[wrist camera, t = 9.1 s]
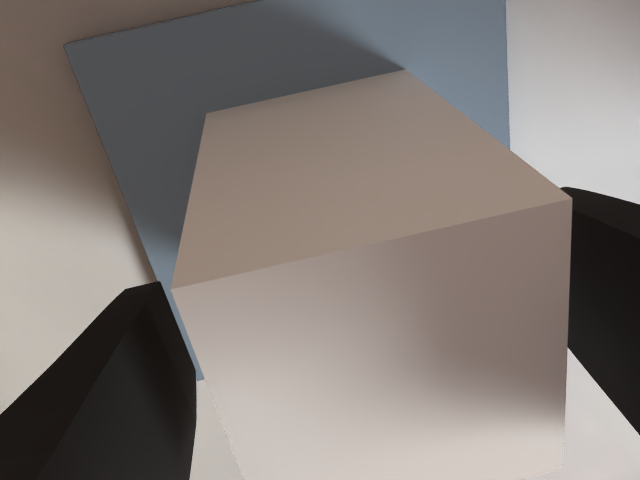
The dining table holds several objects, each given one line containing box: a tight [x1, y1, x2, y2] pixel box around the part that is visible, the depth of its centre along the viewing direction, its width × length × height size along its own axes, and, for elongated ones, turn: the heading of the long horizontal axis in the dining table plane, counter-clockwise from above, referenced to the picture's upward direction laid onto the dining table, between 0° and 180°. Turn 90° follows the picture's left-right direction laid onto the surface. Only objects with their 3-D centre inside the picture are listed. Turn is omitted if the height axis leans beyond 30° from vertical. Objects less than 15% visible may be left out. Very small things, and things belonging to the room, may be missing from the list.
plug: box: [171, 69, 572, 480], centre depth 10 cm, size 4×4×7 cm
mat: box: [63, 0, 510, 381], centre depth 14 cm, size 9×9×1 cm
